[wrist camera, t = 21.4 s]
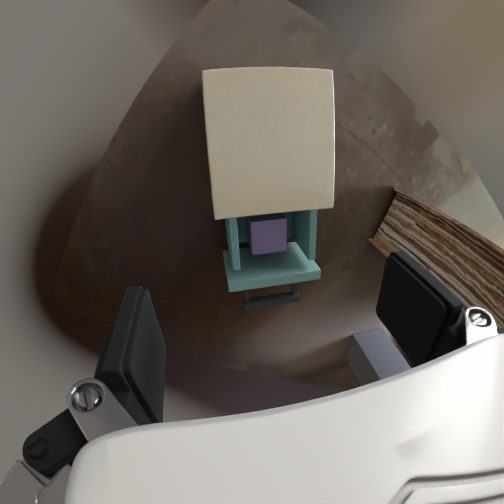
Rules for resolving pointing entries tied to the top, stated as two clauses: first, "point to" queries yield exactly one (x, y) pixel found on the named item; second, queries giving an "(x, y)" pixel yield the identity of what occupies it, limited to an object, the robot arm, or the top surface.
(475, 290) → the book
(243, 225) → the teal drawer
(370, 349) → the perfume bottle
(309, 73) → the drawer cabinet
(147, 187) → the top surface
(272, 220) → the lavender cube
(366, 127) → the top surface
